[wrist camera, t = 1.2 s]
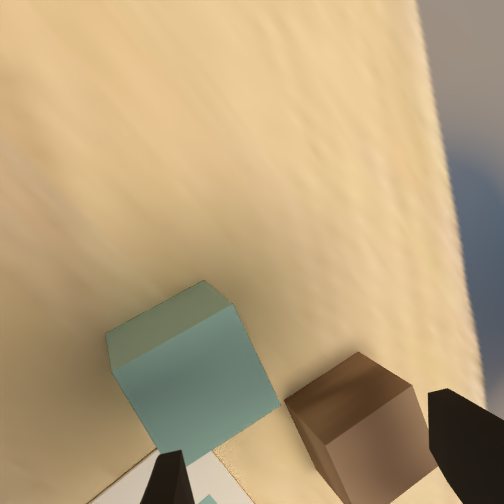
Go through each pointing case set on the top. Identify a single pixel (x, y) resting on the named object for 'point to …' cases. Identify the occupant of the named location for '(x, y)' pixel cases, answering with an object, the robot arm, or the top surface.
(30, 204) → the top surface
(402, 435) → the walnut block
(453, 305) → the top surface
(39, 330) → the top surface
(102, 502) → the page
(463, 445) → the robot arm
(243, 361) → the teal block
